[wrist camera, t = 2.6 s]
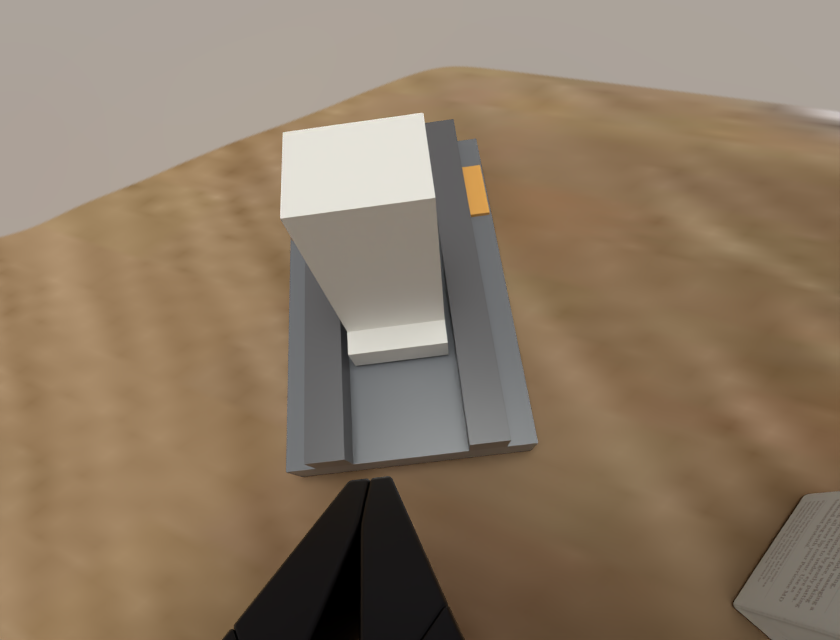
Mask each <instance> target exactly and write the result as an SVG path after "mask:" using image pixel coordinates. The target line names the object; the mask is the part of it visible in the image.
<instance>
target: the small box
mask: <svg viewBox="0 0 840 640" xmlns="http://www.w3.org/2000/svg"><path fill="white" fill-rule="evenodd" d="M733 604H734V607H735V608H736V609H737V610H738V611H739V612H740V613H742V614H743V615H744V616H745V617H746V618H747V619H749V620H750V621H751V622H752V623H753V624H754V625H755V626H757V627H758V628H759V629H760V630H761V631H762V632H763V633H765V634H766V635H767V636H768V637H769V638H770V639H772V640H840V491H836V492H825V493H813V494H807V495H805V496H804V497H803V498H802V499H801V501H800V502H799V504H798V505H797V507H796V508H795V510H794V511H793V513H792V514H791V516H790V517H789V519H788V520H787V522H786V523H785V525H784V526H783V528H782V529H781V531H780V532H779V534H778V535H777V537H776V538H775V540H774V541H773V543H772V544H771V546H770V547H769V549H768V550H767V552H766V553H765V555H764V556H763V558H762V559H761V561H760V562H759V564H758V565H757V567H756V568H755V570H754V571H753V573H752V575H751V576H750V578H749V579H748V581H747V582H746V584H745V585H744V587H743V589H742V590H741V592H740V593H739V595H738V596H737V598H736V599H735V600H734V603H733Z"/></svg>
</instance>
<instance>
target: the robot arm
mask: <svg viewBox="0 0 840 640" xmlns="http://www.w3.org/2000/svg"><path fill="white" fill-rule="evenodd" d="M222 640H465V639H464V637H463V635H462V633H461V631H460V629H459V627H458V625H457V622H456V620H455V618H454V616H453V613H452V611H451V609H450V607H448V603H447V601H446V598H445V596H444V594H443V592H442V589H441V587H440V585H439V583H438V580H437V578H436V576H435V574H434V571H433V569H432V567H431V565H430V562H429V560H428V558H427V556H426V553H425V551H424V549H423V547H422V544H421V542H420V540H419V538H418V536H417V533H416V531H415V529H414V527H413V524H412V522H411V520H410V518H409V515H408V513H407V511H406V509H405V506H404V504H403V502H402V500H401V497H400V495H399V493H398V491H397V488H396V486H395V484H394V482H393V479H392V478H391V477H390V476H386V477H377V478H373V479H371V481H370V480H369V479H360V480H352V481H349V482H348V483H347V484H346V485H345V487H344V488H343V489H342V490H341V492H340V493H339V494H338V495H337V497H336V498H335V499H334V500H333V502H332V503H331V504H330V505H329V507H328V508H327V509H326V510H325V512H324V513H323V514H322V515H321V517H320V518H319V519H318V520H317V522H316V523H315V524H314V525H313V527H312V528H311V529H310V530H309V532H308V533H307V534H306V535H305V537H304V538H303V539H302V540H301V542H300V543H299V544H298V545H297V547H296V548H295V549H294V550H293V552H292V553H291V554H290V555H289V557H288V558H287V559H286V560H285V562H284V563H283V564H282V565H281V567H280V568H279V569H278V570H277V572H276V573H275V574H274V576H273V577H272V578H271V579H270V581H269V582H268V583H267V584H266V586H265V587H264V588H263V589H262V591H261V592H260V593H259V594H258V596H257V597H256V598H255V599H254V601H253V602H252V603H251V604H250V606H249V607H248V608H247V609H246V611H245V612H244V613H243V614H242V616H241V617H240V618H239V619H238V621H237V622H236V623H235V624H234V629H231V630H229V632H228V633H227V634H226V635H225V637H224V638H223V639H222Z"/></svg>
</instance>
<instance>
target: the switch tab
mask: <svg viewBox="0 0 840 640" xmlns="http://www.w3.org/2000/svg"><path fill="white" fill-rule="evenodd" d="M280 219H281V221H282V222H283V224H284V226H285V228H286V229H287V231H288V233H289V234H290V236H291V238H292V239H293V241H294V243H295V244H296V246H297V248H298V250H299V251H300V253H301V255H302V256H303V258H304V260H305V261H306V263H307V265H308V266H309V268H310V270H311V272H312V273H313V275H314V277H315V278H316V280H317V282H318V283H319V285H320V287H321V288H322V290H323V292H324V294H325V295H326V297H327V299H328V300H329V302H330V304H331V305H332V307H333V309H334V310H335V312H336V314H337V315H338V317H339V319H340V321H341V322H342V324H343V326H344V327H345V329H346V331H347V338H348V356H349V357H350V359H351V360H352V362H353V363H354V365H355V366H359V365H367V364H375V363H384V362H392V361H400V360H408V359H416V358H424V357H432V356H441V355H449V354H448V341H447V333H446V326H445V318H444V305H443V291H442V278H441V265H440V252H439V238H438V225H437V212H436V199H435V191H434V184H433V177H432V171H431V164H430V157H429V150H428V143H427V136H426V129H425V122H424V115H423V113H418V114H411V115H404V116H396V117H389V118H382V119H375V120H368V121H361V122H354V123H346V124H339V125H332V126H325V127H318V128H311V129H304V130H296V131H289V132H283V148H282V179H281V210H280Z"/></svg>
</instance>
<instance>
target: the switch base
mask: <svg viewBox="0 0 840 640" xmlns="http://www.w3.org/2000/svg"><path fill="white" fill-rule="evenodd" d="M425 129H426V136H427V143H428V150H429V157H430V164H431V171H432V177H433V184H434V191H435V199H436V212H437V225H438V238H439V252H440V265H441V278H442V291H443V305H444V318H445V326H446V333H447V341H448V354H449V355H441V356H432V357H424V358H416V359H408V360H400V361H392V362H384V363H375V364H367V365H359V366H355V365H354V363H353V362H352V360H351V359H350V357H349V356H348V338H347V331H346V329H345V327H344V326H343V324H342V322H341V321H340V319H339V317H338V315H337V314H336V312H335V310H334V309H333V307H332V305H331V304H330V302H329V300H328V299H327V297H326V295H325V294H324V292H323V290H322V288H321V287H320V285H319V283H318V282H317V280H316V278H315V277H314V275H313V273H312V272H311V270H310V268H309V266H308V265H307V263H306V261H305V260H304V258H303V256H302V255H301V253H300V251H299V250H298V248H297V246H296V244H295V243H294V241H293V239H292V238H291V253H290V303H289V353H288V404H287V454H286V472H287V473H291V474H294V475H298V476H301V477H305V476H313V475H322V474H331V473H339V472H348V471H357V470H365V469H374V468H382V467H391V466H400V465H408V464H417V463H426V462H434V461H443V460H452V459H460V458H469V457H478V456H486V455H495V454H504V453H512V452H521V451H530V450H532V449H533V448H534V447H535V446H536V445H537V444H538V440H537V435H536V430H535V425H534V420H533V416H532V411H531V406H530V401H529V396H528V391H527V386H526V381H525V376H524V371H523V367H522V362H521V357H520V352H519V347H518V342H517V337H516V332H515V327H514V322H513V318H512V313H511V308H510V303H509V298H508V293H507V288H506V283H505V278H504V273H503V269H502V264H501V259H500V254H499V249H498V244H497V239H496V234H495V229H494V224H493V220H492V215H491V210H490V205H489V200H488V195H487V190H486V185H485V180H484V175H483V171H482V166H481V161H480V156H479V151H478V146H477V141H476V139H471V140H463V141H457V137H456V131H455V126H454V120H453V119H451V120H444V121H437V122H430V123H425Z"/></svg>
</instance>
